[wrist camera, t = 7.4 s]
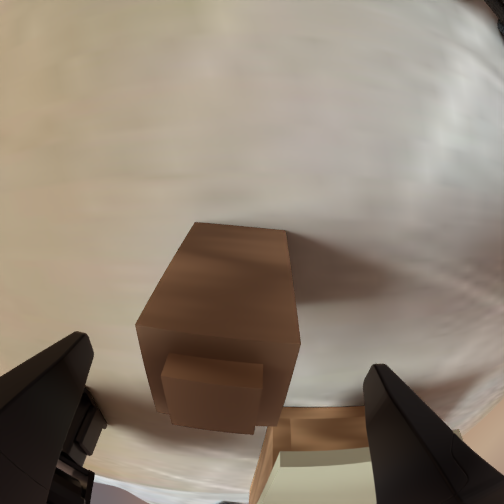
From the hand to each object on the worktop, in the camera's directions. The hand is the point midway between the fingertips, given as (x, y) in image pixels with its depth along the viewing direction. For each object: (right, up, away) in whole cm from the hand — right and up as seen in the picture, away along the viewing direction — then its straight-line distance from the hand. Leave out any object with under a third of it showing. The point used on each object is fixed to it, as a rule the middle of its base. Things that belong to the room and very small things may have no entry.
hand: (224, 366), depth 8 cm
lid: (+7, -19, +10) cm, 23 cm away
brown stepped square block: (0, +3, +6) cm, 6 cm away
